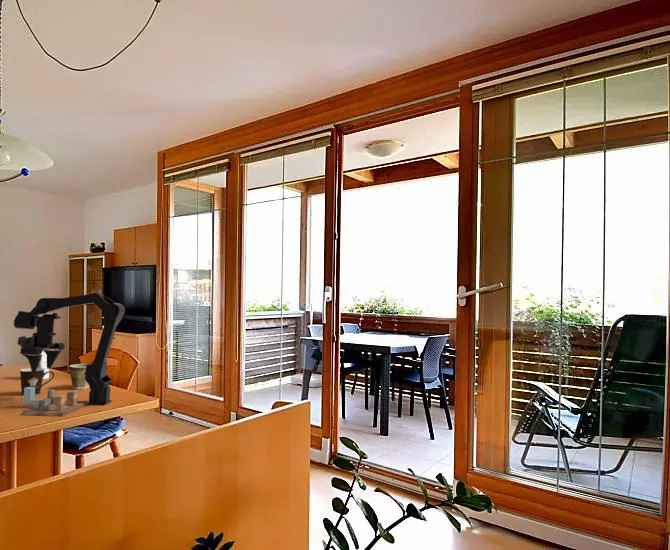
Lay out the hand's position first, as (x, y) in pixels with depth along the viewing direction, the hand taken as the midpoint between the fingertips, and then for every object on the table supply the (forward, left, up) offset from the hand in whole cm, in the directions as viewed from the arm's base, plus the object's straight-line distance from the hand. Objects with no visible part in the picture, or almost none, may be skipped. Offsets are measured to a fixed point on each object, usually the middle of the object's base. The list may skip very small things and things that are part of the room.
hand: (41, 370), depth 182 cm
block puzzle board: (-12, +11, -12) cm, 20 cm away
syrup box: (+28, -44, -13) cm, 54 cm away
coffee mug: (+11, -14, -13) cm, 22 cm away
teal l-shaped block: (-2, +7, -11) cm, 13 cm away
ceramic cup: (0, -29, -13) cm, 32 cm away
